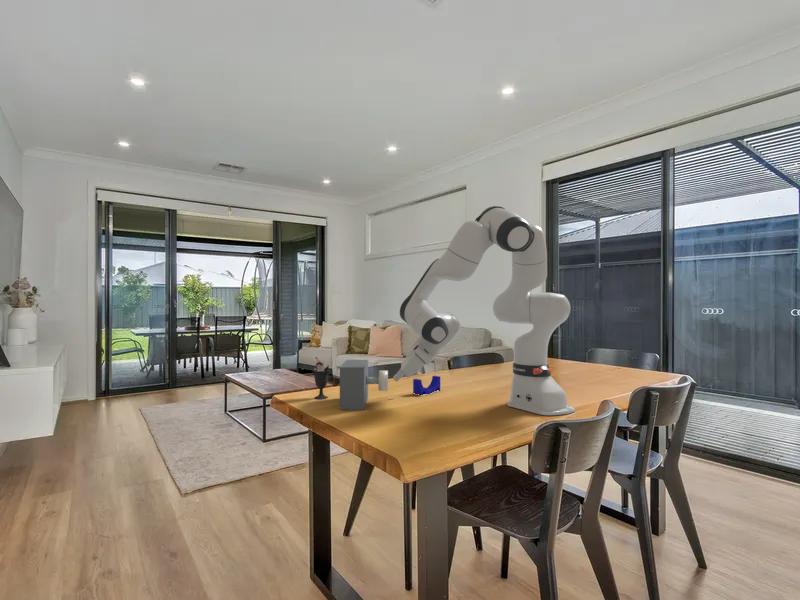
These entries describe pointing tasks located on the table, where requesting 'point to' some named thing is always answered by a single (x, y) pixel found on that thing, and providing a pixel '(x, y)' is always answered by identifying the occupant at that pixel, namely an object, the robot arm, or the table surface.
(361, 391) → the block
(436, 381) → the blue u-shaped block
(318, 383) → the sundae
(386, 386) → the knob
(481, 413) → the table surface
